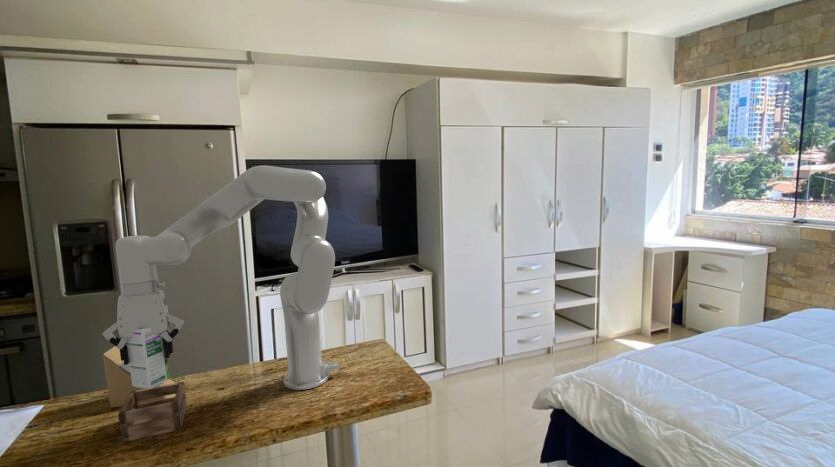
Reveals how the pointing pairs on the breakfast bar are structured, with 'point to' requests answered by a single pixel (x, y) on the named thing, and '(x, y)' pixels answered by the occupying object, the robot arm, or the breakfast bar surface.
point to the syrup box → (147, 359)
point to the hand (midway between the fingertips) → (148, 359)
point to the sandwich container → (122, 379)
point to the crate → (152, 412)
